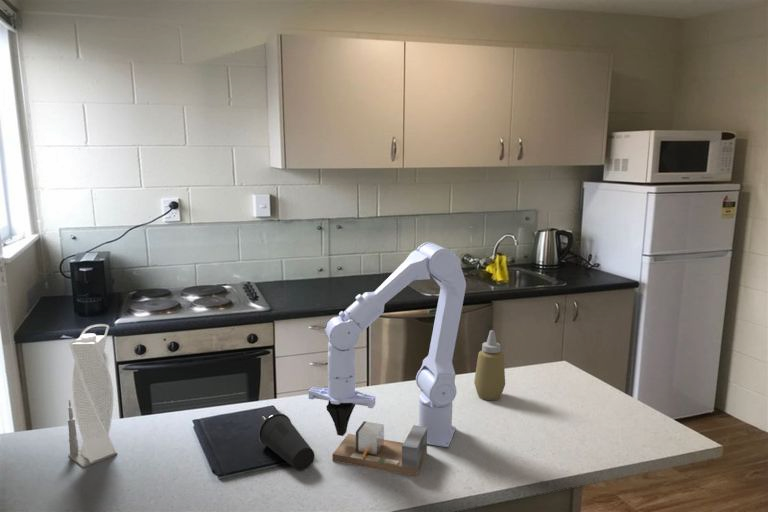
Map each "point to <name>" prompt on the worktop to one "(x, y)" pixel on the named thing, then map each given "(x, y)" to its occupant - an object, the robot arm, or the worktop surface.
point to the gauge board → (388, 453)
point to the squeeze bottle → (490, 370)
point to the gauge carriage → (369, 438)
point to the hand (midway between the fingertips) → (341, 433)
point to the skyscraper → (91, 400)
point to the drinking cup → (286, 441)
